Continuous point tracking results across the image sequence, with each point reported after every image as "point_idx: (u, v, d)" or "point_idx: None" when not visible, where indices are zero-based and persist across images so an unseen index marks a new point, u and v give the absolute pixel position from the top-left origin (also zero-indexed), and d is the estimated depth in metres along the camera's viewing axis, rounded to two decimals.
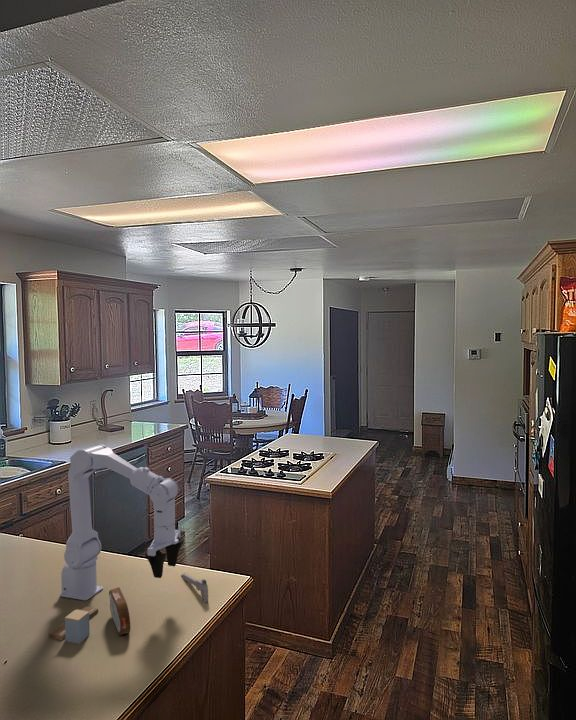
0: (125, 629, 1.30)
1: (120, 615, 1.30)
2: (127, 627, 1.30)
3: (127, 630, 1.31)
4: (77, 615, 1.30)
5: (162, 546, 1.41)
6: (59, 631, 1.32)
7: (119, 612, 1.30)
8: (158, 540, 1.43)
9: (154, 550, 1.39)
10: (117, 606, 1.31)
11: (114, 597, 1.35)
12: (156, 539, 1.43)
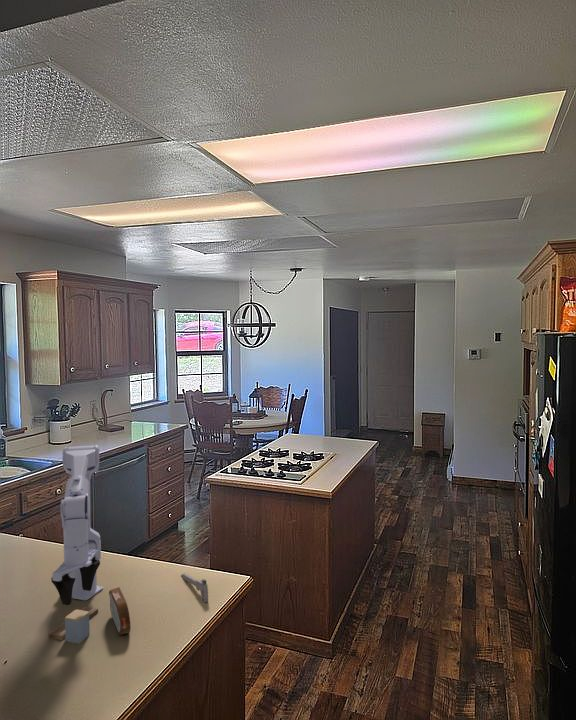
0: (125, 629, 1.30)
1: (120, 615, 1.30)
2: (127, 627, 1.30)
3: (127, 630, 1.31)
4: (77, 615, 1.30)
5: (70, 569, 1.26)
6: (59, 631, 1.32)
7: (119, 612, 1.30)
8: (67, 562, 1.28)
9: (59, 574, 1.23)
10: (117, 606, 1.31)
11: (114, 597, 1.35)
12: (65, 561, 1.28)
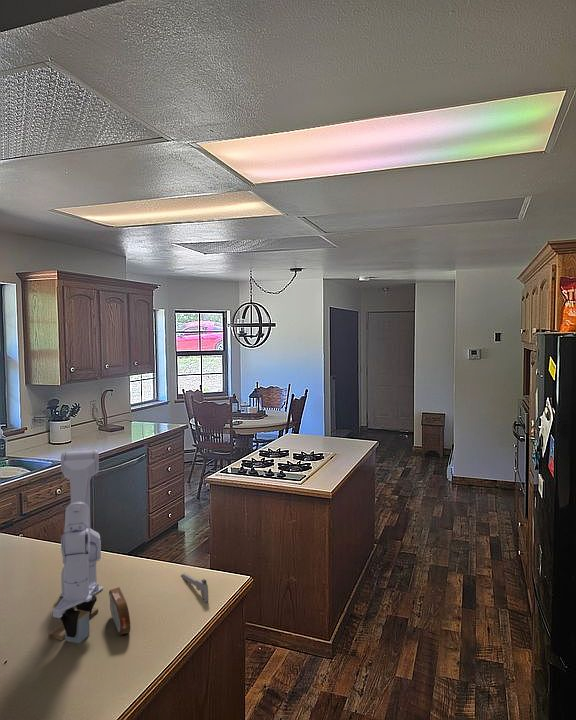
0: (125, 629, 1.30)
1: (120, 615, 1.30)
2: (127, 627, 1.30)
3: (127, 630, 1.31)
4: None
5: (71, 605, 1.26)
6: (59, 631, 1.32)
7: (119, 612, 1.30)
8: (68, 598, 1.28)
9: (60, 611, 1.24)
10: (117, 606, 1.31)
11: (114, 597, 1.35)
12: (66, 597, 1.28)
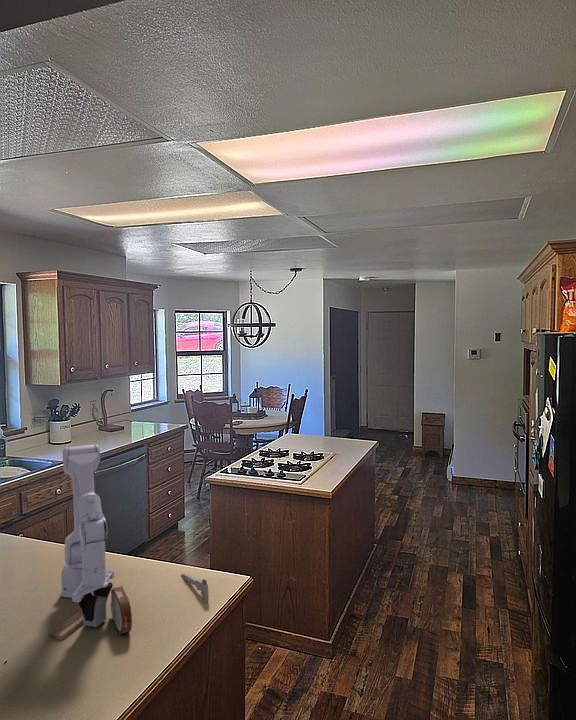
0: (126, 628, 1.30)
1: (122, 613, 1.30)
2: (128, 626, 1.30)
3: (128, 629, 1.31)
4: None
5: (89, 591, 1.33)
6: (59, 631, 1.32)
7: (121, 610, 1.30)
8: (86, 584, 1.34)
9: (79, 596, 1.30)
10: (120, 604, 1.32)
11: (117, 595, 1.36)
12: (84, 582, 1.35)
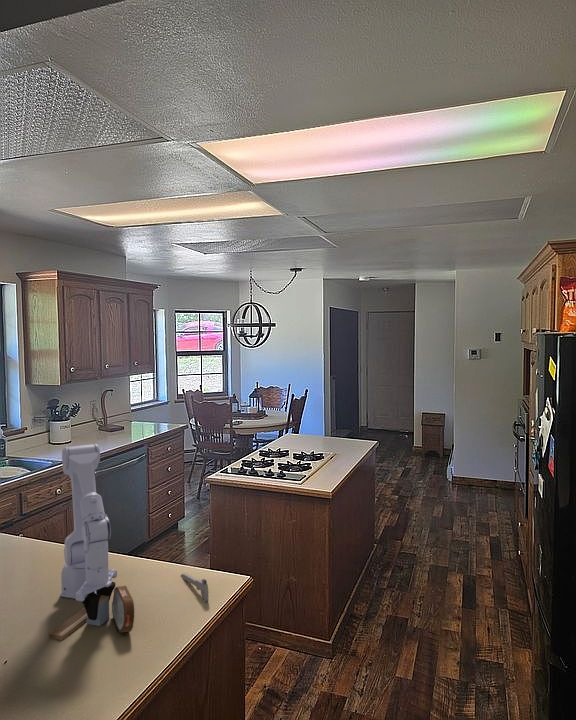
0: (127, 628, 1.31)
1: (125, 612, 1.30)
2: (130, 625, 1.31)
3: (129, 629, 1.31)
4: None
5: (92, 590, 1.34)
6: (59, 631, 1.32)
7: (125, 609, 1.31)
8: (89, 583, 1.36)
9: (82, 595, 1.31)
10: (124, 602, 1.32)
11: (121, 594, 1.36)
12: (87, 582, 1.36)
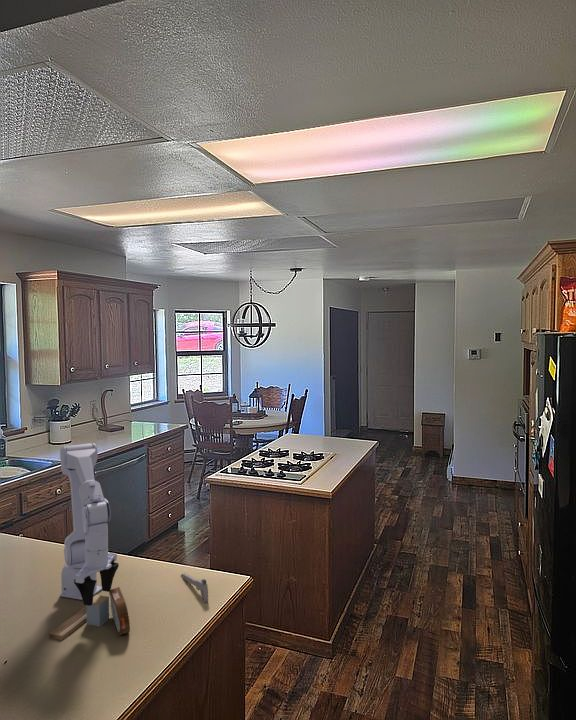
0: (124, 629, 1.30)
1: (119, 615, 1.30)
2: (126, 627, 1.30)
3: (127, 630, 1.31)
4: (98, 600, 1.38)
5: (92, 572, 1.34)
6: (59, 631, 1.32)
7: (118, 612, 1.30)
8: (89, 565, 1.35)
9: (82, 577, 1.31)
10: (116, 606, 1.31)
11: (113, 597, 1.35)
12: (87, 564, 1.36)
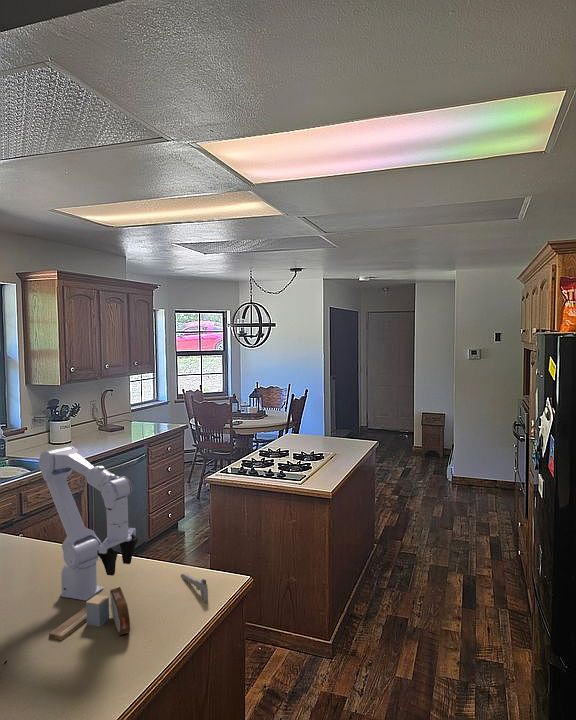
0: (125, 629, 1.30)
1: (120, 615, 1.30)
2: (127, 627, 1.30)
3: (127, 630, 1.31)
4: (98, 600, 1.38)
5: (114, 543, 1.42)
6: (59, 631, 1.32)
7: (119, 612, 1.30)
8: (110, 538, 1.44)
9: (105, 547, 1.39)
10: (117, 606, 1.31)
11: (114, 597, 1.35)
12: (109, 537, 1.44)
